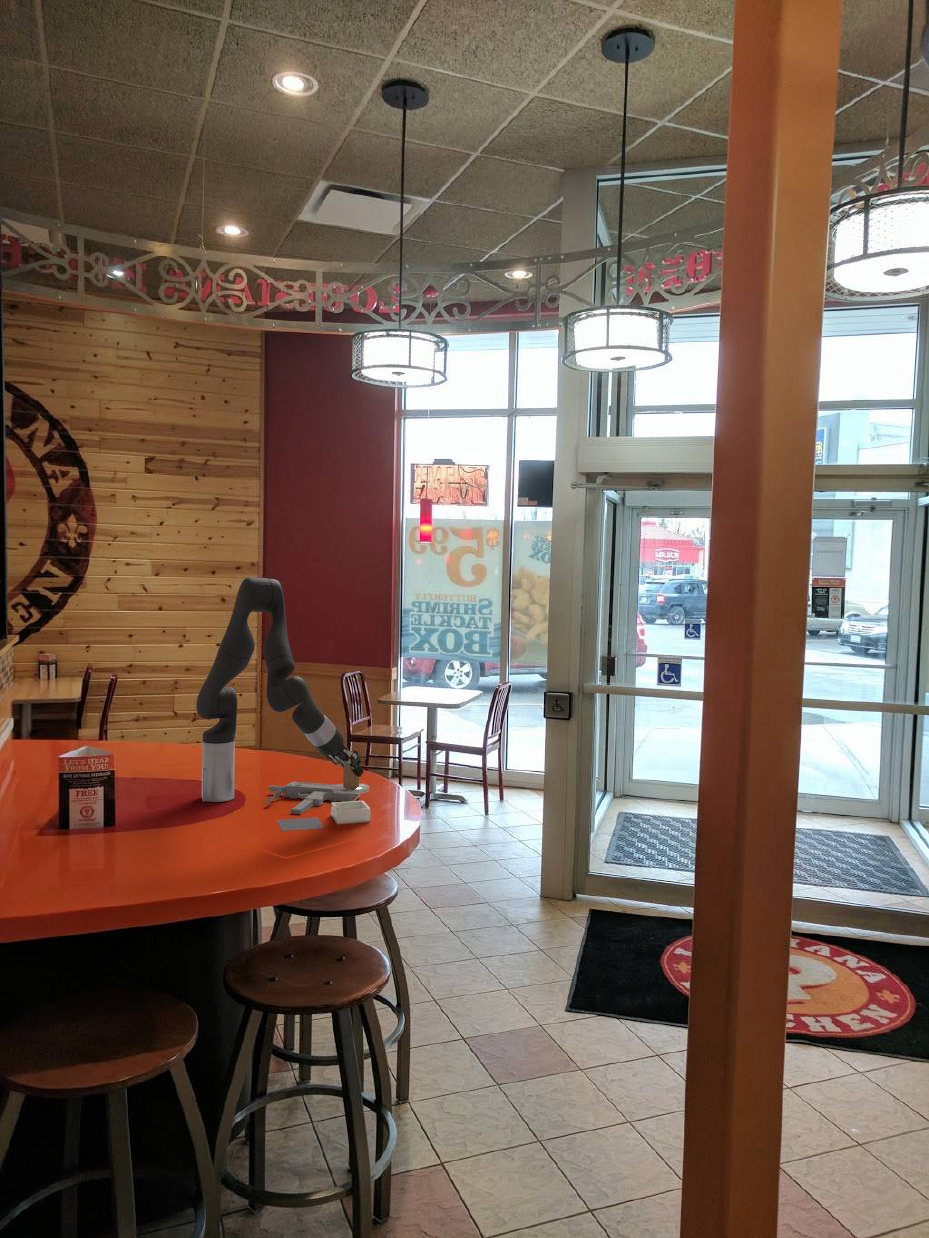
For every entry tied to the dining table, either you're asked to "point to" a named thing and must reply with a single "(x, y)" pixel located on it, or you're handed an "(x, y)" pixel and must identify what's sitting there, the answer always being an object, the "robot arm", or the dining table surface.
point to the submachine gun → (308, 795)
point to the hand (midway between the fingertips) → (356, 773)
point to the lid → (350, 783)
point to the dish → (350, 812)
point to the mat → (300, 824)
